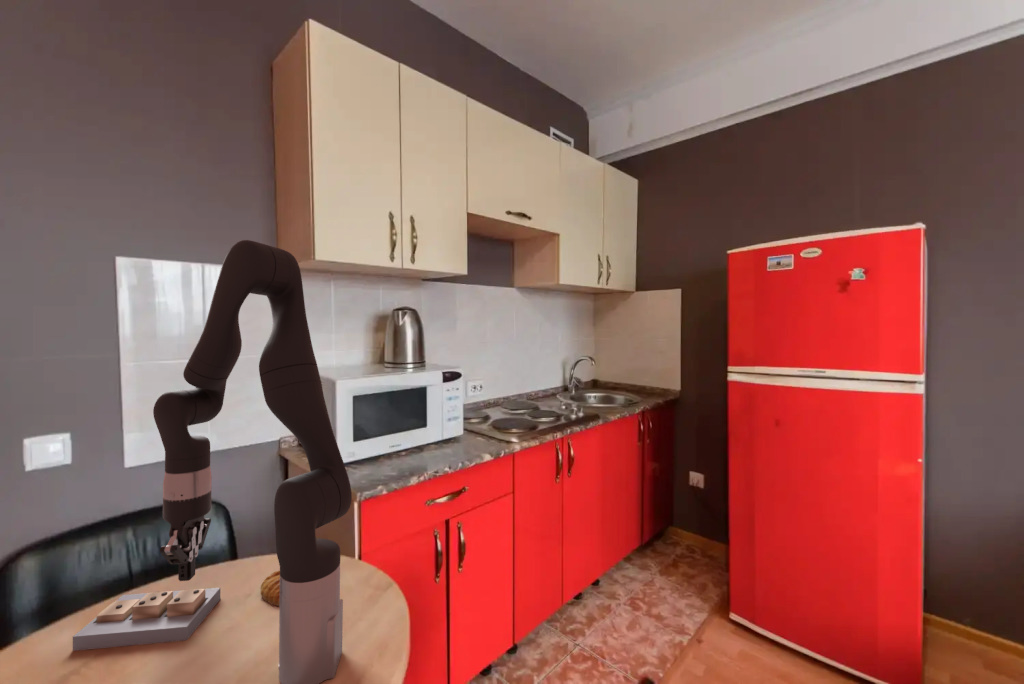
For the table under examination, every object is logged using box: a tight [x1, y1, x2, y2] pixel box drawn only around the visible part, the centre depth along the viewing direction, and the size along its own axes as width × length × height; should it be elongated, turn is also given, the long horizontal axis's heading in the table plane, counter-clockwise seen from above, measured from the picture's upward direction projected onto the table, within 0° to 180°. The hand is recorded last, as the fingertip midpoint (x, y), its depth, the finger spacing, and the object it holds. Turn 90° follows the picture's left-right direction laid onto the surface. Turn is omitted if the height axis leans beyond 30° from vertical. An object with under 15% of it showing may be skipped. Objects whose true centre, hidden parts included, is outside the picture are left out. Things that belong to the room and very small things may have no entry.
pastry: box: [260, 570, 280, 607], centre depth 91 cm, size 9×7×4 cm
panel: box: [72, 587, 221, 651], centre depth 82 cm, size 18×12×2 cm, turn 100°
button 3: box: [132, 590, 174, 620], centre depth 81 cm, size 4×4×3 cm
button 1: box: [96, 599, 140, 623], centre depth 80 cm, size 4×4×3 cm
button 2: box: [167, 588, 206, 617], centre depth 82 cm, size 4×4×3 cm
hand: (186, 578), depth 83 cm, fingers closed
